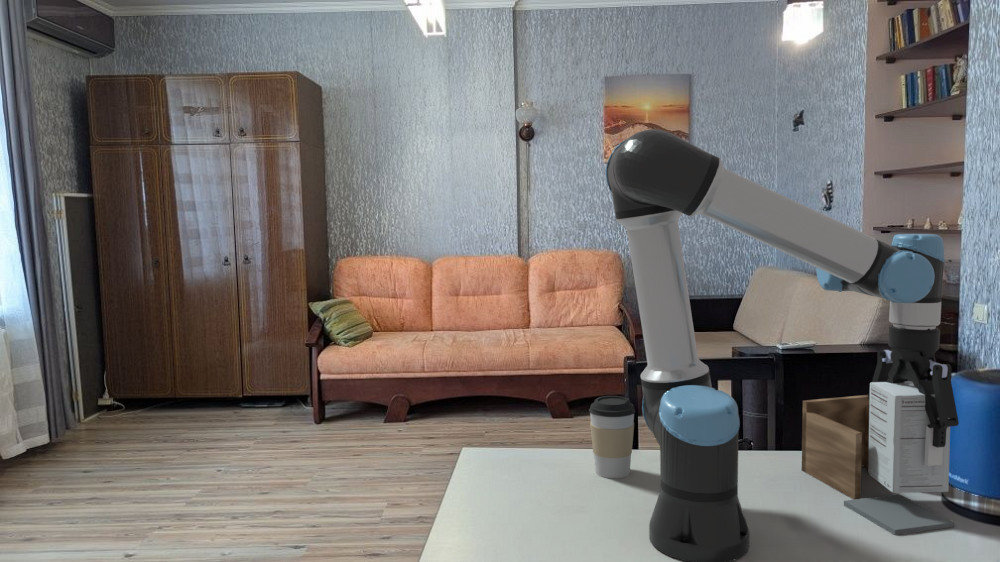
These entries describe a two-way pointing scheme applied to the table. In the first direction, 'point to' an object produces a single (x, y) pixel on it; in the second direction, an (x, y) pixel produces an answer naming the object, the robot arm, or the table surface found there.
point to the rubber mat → (898, 514)
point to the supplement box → (902, 440)
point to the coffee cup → (612, 435)
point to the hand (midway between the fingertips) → (908, 453)
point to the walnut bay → (836, 441)
